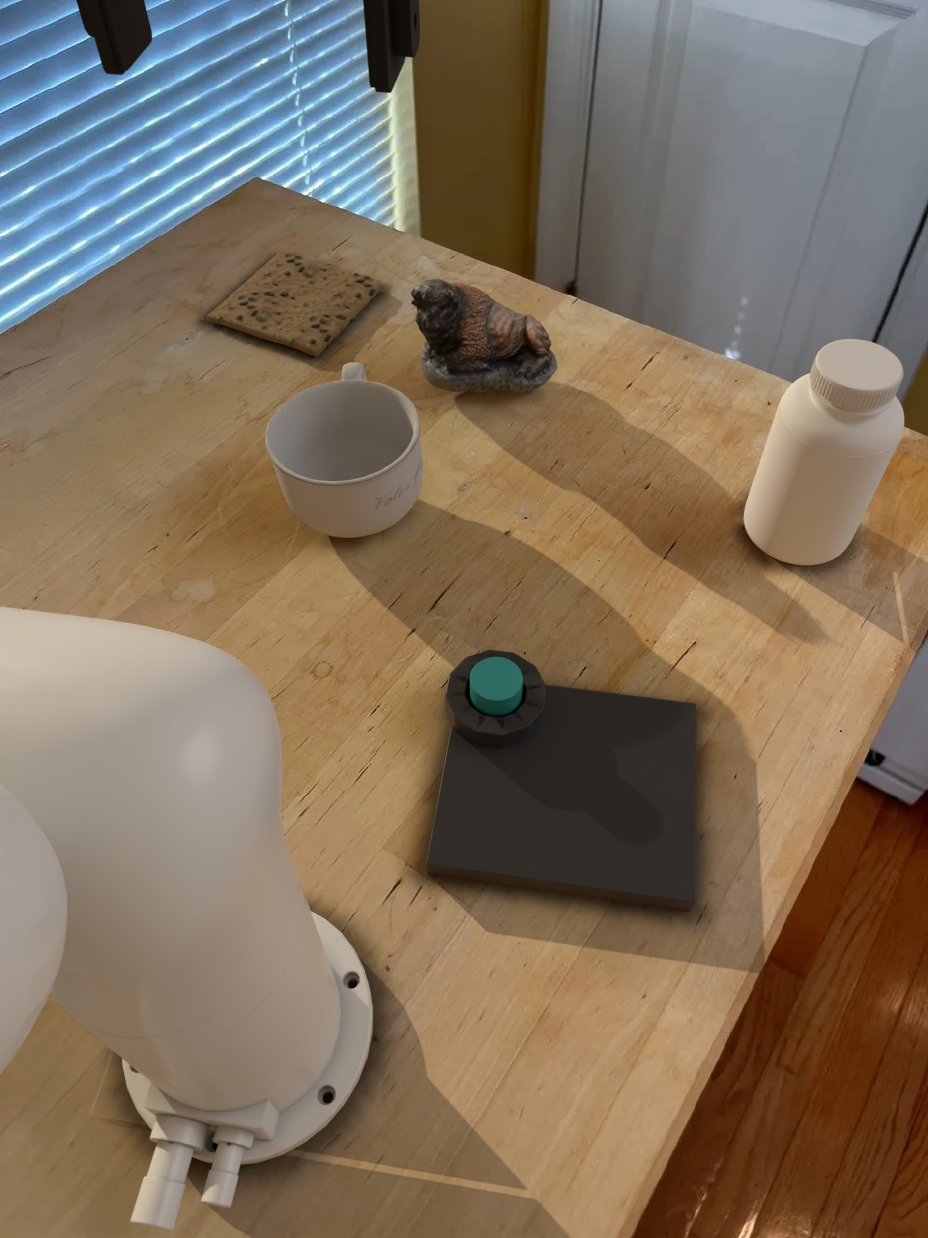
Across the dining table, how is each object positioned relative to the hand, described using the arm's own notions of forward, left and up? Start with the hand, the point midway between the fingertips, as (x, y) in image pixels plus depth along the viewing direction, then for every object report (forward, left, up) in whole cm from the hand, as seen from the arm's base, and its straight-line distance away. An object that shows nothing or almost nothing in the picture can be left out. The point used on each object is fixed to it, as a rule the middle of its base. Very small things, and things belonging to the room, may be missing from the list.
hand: (258, 67), depth 34 cm
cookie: (+38, +14, -37) cm, 55 cm away
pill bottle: (+16, -30, -37) cm, 50 cm away
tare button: (-3, -10, -34) cm, 36 cm away
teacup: (+15, +3, -37) cm, 40 cm away
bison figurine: (+29, -5, -37) cm, 47 cm away
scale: (-8, -15, -37) cm, 40 cm away
